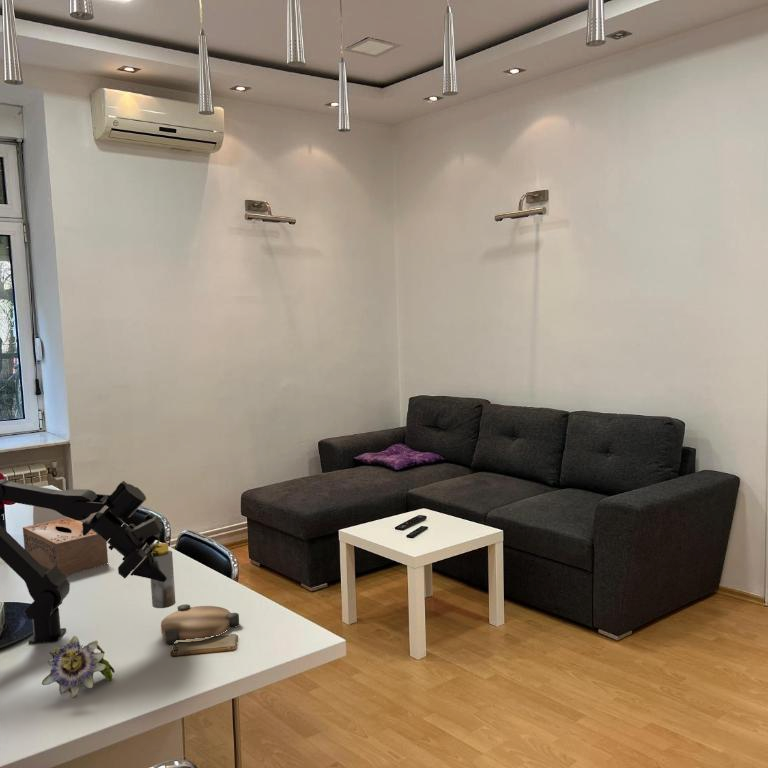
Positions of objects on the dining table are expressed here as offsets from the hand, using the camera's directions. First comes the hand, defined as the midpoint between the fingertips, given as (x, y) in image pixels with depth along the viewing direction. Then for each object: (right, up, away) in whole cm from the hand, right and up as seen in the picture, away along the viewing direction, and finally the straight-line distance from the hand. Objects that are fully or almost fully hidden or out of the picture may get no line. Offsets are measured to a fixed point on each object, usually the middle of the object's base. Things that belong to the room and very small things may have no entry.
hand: (168, 576), depth 180 cm
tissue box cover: (-46, -9, +54) cm, 72 cm away
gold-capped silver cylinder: (-1, -7, +1) cm, 7 cm away
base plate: (+6, -12, +2) cm, 14 cm away
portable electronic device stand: (-54, -7, +78) cm, 95 cm away
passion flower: (-11, -16, -24) cm, 31 cm away
